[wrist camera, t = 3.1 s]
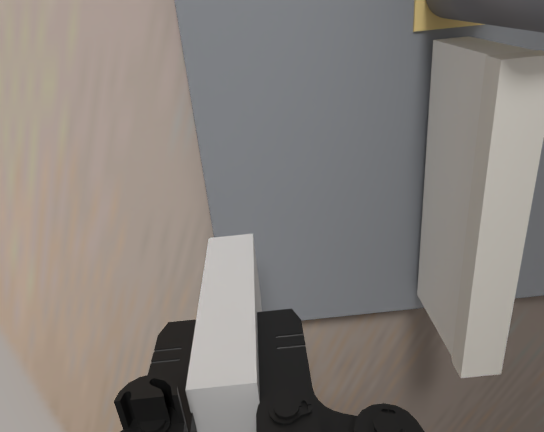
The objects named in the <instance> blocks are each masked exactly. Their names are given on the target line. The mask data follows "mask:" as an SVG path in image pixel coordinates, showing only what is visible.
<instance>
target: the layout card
mask: <svg viewBox="0 0 544 432" xmlns="http://www.w3.org/2000/svg"><path fill="white" fill-rule="evenodd" d="M175 6H176V12H177V18H178V24H179V30H180V36H181V42H182V48H183V54H184V60H185V66H186V72H187V78H188V84H189V90H190V96H191V102H192V108H193V114H194V120H195V126H196V132H197V138H198V143H199V149H200V155H201V161H202V167H203V173H204V179H205V185H206V191H207V197H208V203H209V209H210V215H211V221H212V227H213V233H214V237H224V236H234V235H243V234H253V238H254V246H255V254H256V262H257V270H258V278H259V286H260V294H261V308H262V312H263V311H272V310H282V309H291V308H292V309H293V311H294V312H295V313H296V314H297V315H298V316H299V318H300V319H301V320H311V319H320V318H330V317H340V316H349V315H359V314H369V313H378V312H388V311H398V310H407V309H417V308H424V306H423V304H422V303H421V301H420V299H419V297H418V295H417V290H418V274H419V258H420V242H421V226H422V210H423V194H424V179H425V163H426V147H427V131H428V115H429V99H430V83H431V68H432V52H433V40H437V39H447V38H457V37H467V36H470V37H474V38H479V39H484V40H488V41H493V42H498V43H503V44H507V45H512V46H517V47H522V48H526V49H531V50H542V51H544V33H542V32H535V31H528V30H521V29H514V28H507V27H501V26H494V25H487V24H480V23H473V22H466V21H459V20H453V19H446V18H441V17H438V16H436V15H435V14H434V13H433V12H431V10H430V9H429V7H428V5H427V3H426V0H175ZM543 295H544V138H543V144H542V150H541V155H540V161H539V166H538V172H537V177H536V183H535V188H534V194H533V200H532V205H531V211H530V216H529V222H528V227H527V233H526V239H525V244H524V250H523V255H522V261H521V266H520V272H519V277H518V283H517V289H516V294H515V298H524V297H533V296H543Z"/></svg>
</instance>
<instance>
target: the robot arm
mask: <svg viewBox="0 0 544 432" xmlns="http://www.w3.org/2000/svg"><path fill="white" fill-rule="evenodd" d="M154 350H155V352H154V353H153V357H152V361H151V362H152V364H151V365H150V369H149V372H148V375H147V376H143V377H139V378H137V379H136V380H134V381H132V382H130V383H128V384H127V385H126V386H125V387H124V388H123V389H122V390H121V391H120V392H119V393H118V395H117V397H116V399H115V401H114V403H115V406H116V409H117V412H118V415H119V418H120V421H121V424H122V427H123V430H122V431H121V432H424V430H423V429H422V427H421V426H420V425H419V423H418V422H417V420H416V419H415V418H414V417H413V416H412V415H411V414H410V413H409V412H408V411H406V410H404V409H402V408H400V407H398V406H395V405H390V404H384V403H383V404H376V405H371V406H369V407H367V408H366V409H364V410H362V411H361V412H360V414H359V415H358V416H354V415H348V414H343V413H339V412H336V411H333V410H331V409H329V408H327V407H325V406H324V405H323V404H322V403H321V402H320V401H319V400H318V399H317V397H316V396H315V394H314V391H313V388H312V383H311V377H310V371H309V365H308V359H307V353H306V347H305V341H304V336H303V329H302V323H301V319H300V318H299V316H298V315H297V314H296V313H295V312H294V311H293V309H292V308H291V309H282V310H272V311H263V312H262V308H261V294H260V286H259V278H258V270H257V262H256V254H255V246H254V238H253V234H243V235H234V236H224V237H214V238H209V240H208V246H207V253H206V259H205V266H204V272H203V279H202V285H201V292H200V298H199V305H198V311H197V318H196V320H187V321H177V322H168V324H167V325H166V326H165V327H164V329H163V330H162V331H161V332H160V334H159V335H158V338H157V341H156V345H155V349H154Z"/></svg>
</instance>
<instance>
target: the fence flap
mask: <svg viewBox="0 0 544 432" xmlns="http://www.w3.org/2000/svg"><path fill="white" fill-rule="evenodd" d="M543 138H544V51H542V50H531V49H526V48H522V47H517V46H512V45H507V44H503V43H498V42H493V41H488V40H484V39H479V38H474V37H470V36H467V37H457V38H447V39H437V40H433V52H432V68H431V83H430V99H429V115H428V131H427V147H426V163H425V179H424V194H423V210H422V226H421V242H420V258H419V274H418V290H417V295H418V297H419V299H420V301H421V303H422V304H423V306H424V308H425V310H426V312H427V313H428V315H429V317H430V319H431V320H432V322H433V324H434V326H435V328H436V329H437V331H438V333H439V335H440V337H441V338H442V340H443V342H444V344H445V346H446V347H447V349H448V351H449V353H450V355H451V356H452V360H451V362H452V363H453V365H454V367H455V369H456V371H457V373H458V374H459V376H460V378H469V377H478V376H488V375H497V374H501V372H502V366H503V361H504V355H505V350H506V344H507V339H508V333H509V327H510V322H511V316H512V311H513V305H514V300H515V294H516V289H517V283H518V277H519V272H520V266H521V261H522V255H523V250H524V244H525V239H526V233H527V227H528V222H529V216H530V211H531V205H532V200H533V194H534V188H535V183H536V177H537V172H538V166H539V161H540V155H541V150H542V144H543Z"/></svg>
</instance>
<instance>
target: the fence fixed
mask: <svg viewBox="0 0 544 432" xmlns="http://www.w3.org/2000/svg"><path fill="white" fill-rule="evenodd" d="M426 3H427V5H428V7H429V9H430V10H431V12H433V13H434V14H435V15H436V16H438V17H441V18H446V19H453V20H459V21H466V22H473V23H480V24H487V25H494V26H501V27H507V28H514V29H521V30H528V31H535V32H542V33H544V0H426Z"/></svg>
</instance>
